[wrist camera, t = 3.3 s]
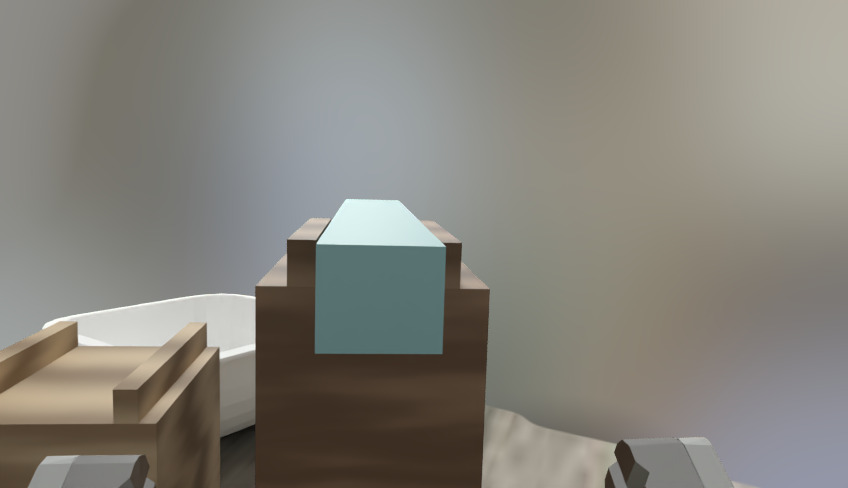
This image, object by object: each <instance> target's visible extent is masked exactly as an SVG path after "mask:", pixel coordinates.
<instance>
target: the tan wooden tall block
mask: <svg viewBox="0 0 848 488" xmlns="http://www.w3.org/2000/svg"><path fill="white" fill-rule="evenodd" d="M73 455H81V456H87V455H145V456H146V458H147V461H148V463H149V466H150V468H149V471H148V474H147V478H148V479H150V480H151V481H153V482H154V483H155V485H156V488H220V347H207V323H203V322H190V323H189V324H187V325H186V326H185V327H184V328H183V329H182V330H180V331H179V332H178V333H177V334H176V335H175V336H174V337H172V338H171V339H170V340H169V341H168V342H167V343H166V344H164V345H163V346H78V322H77V321H59V322H57V323H55V324H53V325H51V326H49V327H47V328H45V329H43V330H41V331H40V332H37V333H36V334H33V335H31V336H29V337H27V338H25V339H23V340H21V341H19V342H17V343H15V344H13V345H11V346H9V347H7V348H5V349H3V350H1V351H0V488H28V486H29V484H30V482H31V480H32V478H33V476H34V473H35V471H36V469H37V467H38V466H39V465H40V463H41V462H42V461H43V460H44V459H45V458H46V457H47V456H73Z"/></svg>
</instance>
